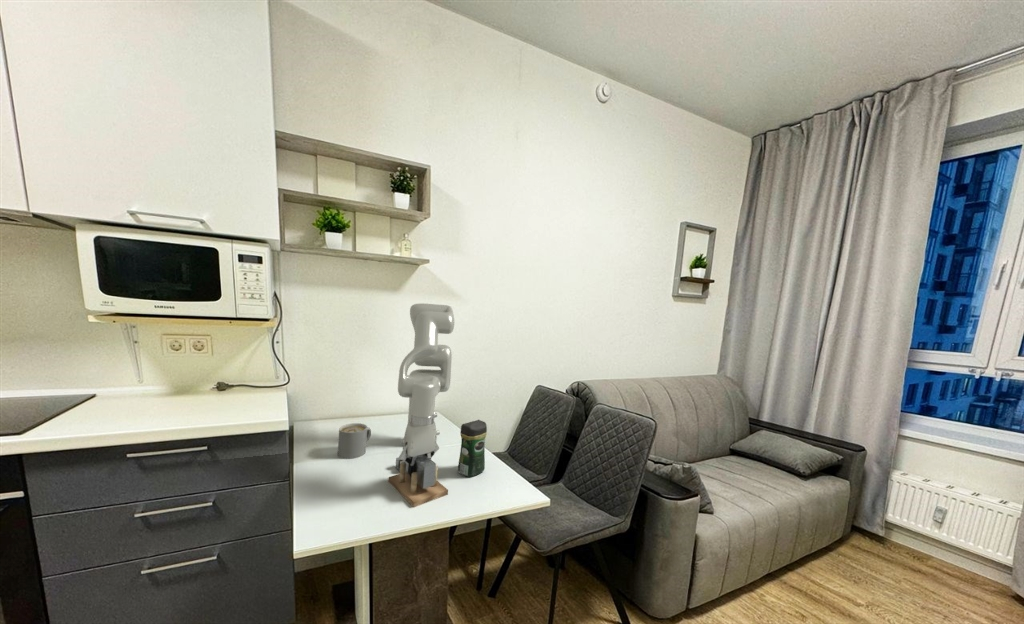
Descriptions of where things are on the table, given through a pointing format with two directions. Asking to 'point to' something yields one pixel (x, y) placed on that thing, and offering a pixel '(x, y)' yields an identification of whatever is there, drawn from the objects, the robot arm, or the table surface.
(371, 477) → the table surface
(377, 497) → the table surface
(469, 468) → the coffee jar
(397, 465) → the slot block
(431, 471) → the steel bar
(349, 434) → the coffee mug
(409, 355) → the robot arm
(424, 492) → the rack
